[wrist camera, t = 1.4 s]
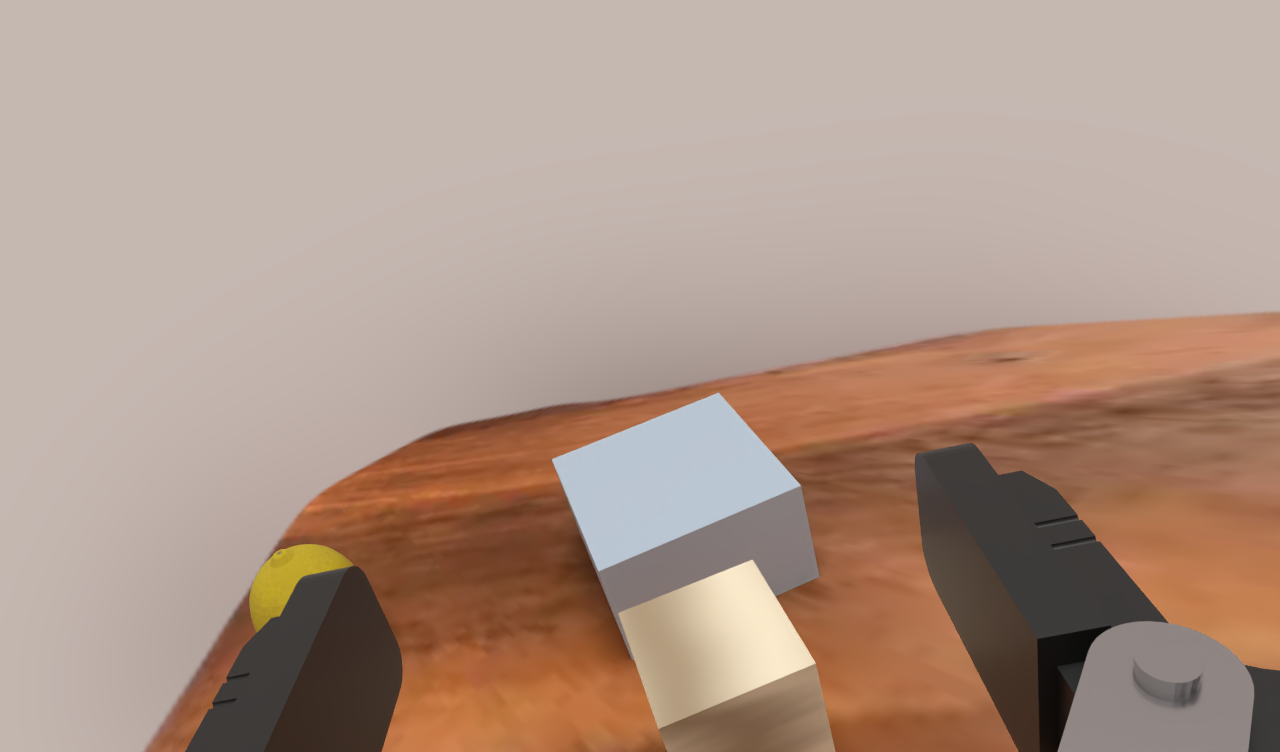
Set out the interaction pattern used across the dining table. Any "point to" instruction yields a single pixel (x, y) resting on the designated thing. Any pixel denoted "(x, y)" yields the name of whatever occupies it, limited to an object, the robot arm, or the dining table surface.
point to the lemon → (288, 578)
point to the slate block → (686, 506)
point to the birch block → (727, 668)
